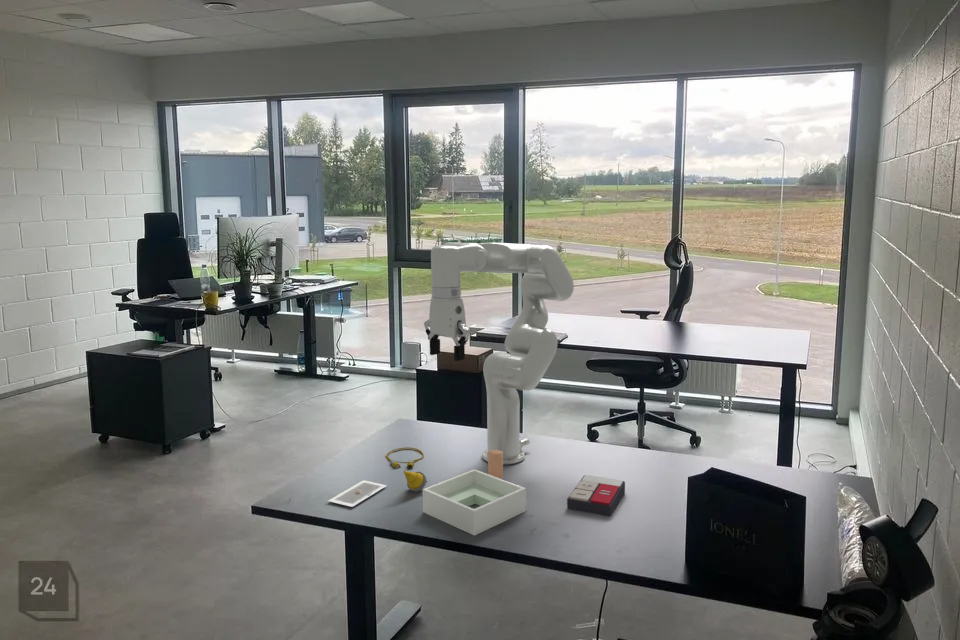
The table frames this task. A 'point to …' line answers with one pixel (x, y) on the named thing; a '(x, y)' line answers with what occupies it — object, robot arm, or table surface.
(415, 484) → the yellow tapered spiral part
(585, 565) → the table surface
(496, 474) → the peg
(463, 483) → the holed box
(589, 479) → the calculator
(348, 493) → the white grey flat rectangle
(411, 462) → the extension cord
